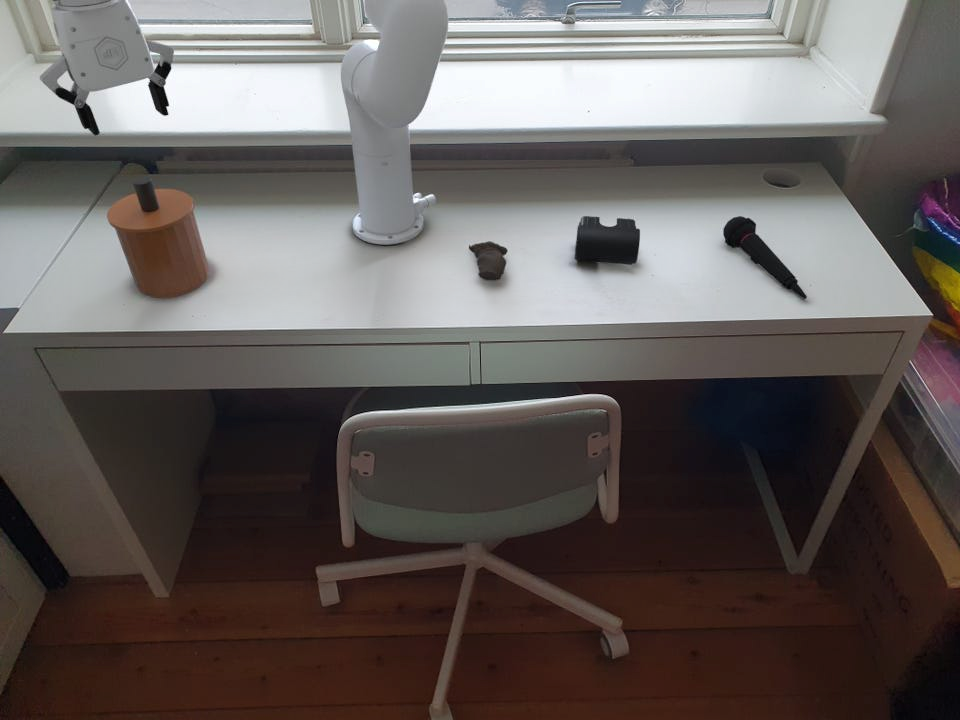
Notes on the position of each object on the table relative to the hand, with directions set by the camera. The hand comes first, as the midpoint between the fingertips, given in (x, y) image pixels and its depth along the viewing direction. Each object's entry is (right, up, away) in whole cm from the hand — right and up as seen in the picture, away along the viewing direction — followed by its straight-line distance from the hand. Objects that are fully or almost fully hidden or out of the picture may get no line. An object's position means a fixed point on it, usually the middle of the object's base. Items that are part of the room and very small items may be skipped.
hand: (129, 122), depth 103 cm
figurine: (+51, -19, +18) cm, 57 cm away
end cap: (+70, -17, +21) cm, 75 cm away
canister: (-1, -20, +16) cm, 26 cm away
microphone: (+96, -18, +19) cm, 99 cm away
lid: (-1, -11, +9) cm, 14 cm away
